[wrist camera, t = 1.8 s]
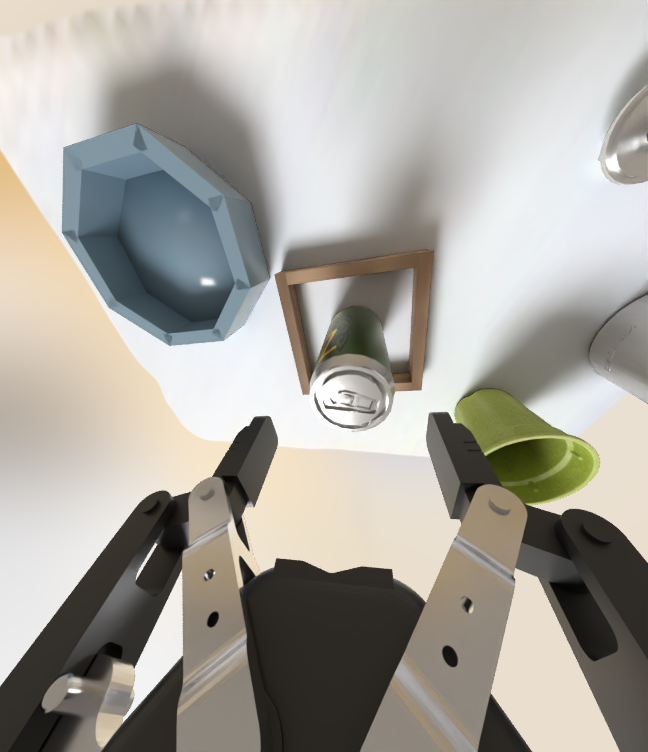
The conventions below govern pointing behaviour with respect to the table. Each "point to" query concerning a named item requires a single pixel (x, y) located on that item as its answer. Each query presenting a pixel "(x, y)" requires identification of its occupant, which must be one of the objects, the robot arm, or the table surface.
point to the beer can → (353, 373)
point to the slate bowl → (162, 235)
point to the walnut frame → (415, 260)
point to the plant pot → (527, 448)
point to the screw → (628, 143)
